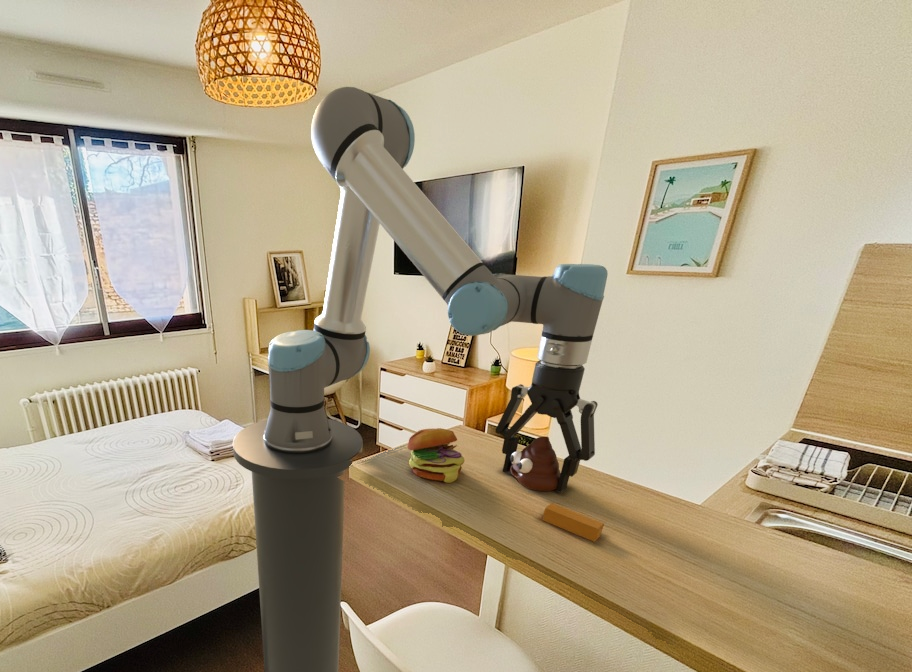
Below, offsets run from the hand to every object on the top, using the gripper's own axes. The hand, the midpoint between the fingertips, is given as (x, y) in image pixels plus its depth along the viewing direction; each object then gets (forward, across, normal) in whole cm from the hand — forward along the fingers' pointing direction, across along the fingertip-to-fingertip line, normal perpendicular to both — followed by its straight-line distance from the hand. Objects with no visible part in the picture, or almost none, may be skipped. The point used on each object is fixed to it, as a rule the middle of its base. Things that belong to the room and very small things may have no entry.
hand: (533, 479), depth 88 cm
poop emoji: (0, 0, 0) cm, 0 cm away
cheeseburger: (0, -15, -11) cm, 19 cm away
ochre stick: (0, +11, -11) cm, 16 cm away
